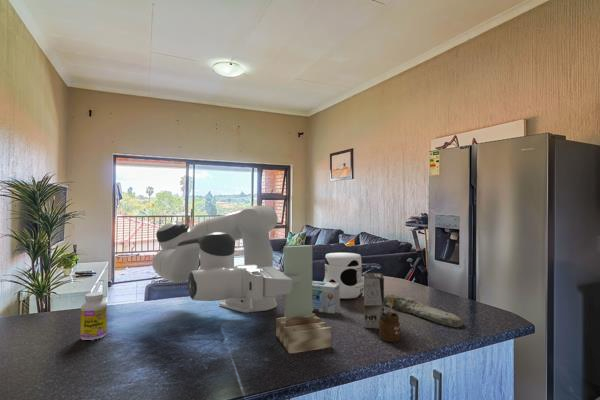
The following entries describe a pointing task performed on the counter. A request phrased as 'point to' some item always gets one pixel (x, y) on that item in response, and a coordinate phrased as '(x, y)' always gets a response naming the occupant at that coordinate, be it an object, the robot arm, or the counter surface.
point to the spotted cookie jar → (345, 274)
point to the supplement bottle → (93, 317)
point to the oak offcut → (306, 327)
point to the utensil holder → (389, 324)
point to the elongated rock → (423, 310)
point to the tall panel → (301, 296)
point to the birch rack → (303, 336)
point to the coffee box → (373, 299)
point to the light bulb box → (325, 297)
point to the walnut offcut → (302, 321)
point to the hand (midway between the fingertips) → (297, 277)
